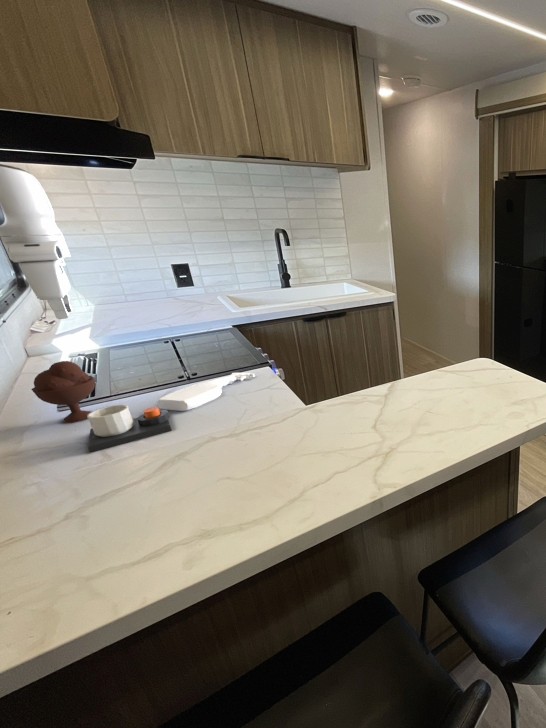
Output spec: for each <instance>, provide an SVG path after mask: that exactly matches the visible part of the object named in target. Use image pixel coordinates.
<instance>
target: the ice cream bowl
mask: <svg viewBox="0 0 546 728" xmlns="http://www.w3.org/2000/svg"><path fill="white" fill-rule="evenodd" d="M33 386H34V387H33V388H31V391H32V392H33V393H34V395H35V396H36V397H37V398H38V399H39V400H41V401H42V402H45V403H48V404H51V405H57V406H67V407H68V408H69V409H70V413H69V414H67V415H66V416H65V417H64V418H63V422H64V423H66V424H67V423H68V424H69V423H71V424H72V423H77V422H81V421H82V422H83V421H84V420H88V417H87V415H88V414H89V413H91V412H92V411H90V410H84V409H83V410H81V409H82V408H80V406H79V404H80V402H81V401H83V400H85V399H86V398H87V397H89V396H90V395H91V394H92V392H93V391H94V390H95V387H96V379H95V377H94V376H92V375H90V374H88V373H86V372H85V371H83V370H82V368H81V367H80V365H78V364H77V363H76V362H73V361H69V360H61V361H58V362H54V363H52V364H51V365H50V367H49V368H48V369H46V370H43V371H42V372H40V373H38V374H37V375H36V376H35V378H34V379H33Z"/></svg>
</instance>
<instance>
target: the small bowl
mask: <svg viewBox="0 0 546 728" xmlns="http://www.w3.org/2000/svg"><path fill="white" fill-rule="evenodd" d="M87 417H88V418H87V420H88V422H89V425H90V426H91V429H93V431H94V433H95V435H97V436H101V437H108V436H114V435H118V434H121V433H124V432H126V431H128V430H130V429H131V428H132V427H133V426H134V425H135V423H134V420H133V418H134V417H133V415H132V413H131V410H130V407H129V405H127V404H113V405H108V406H105V407H104V406H103V407H101V408H98V409H95V410H93V411H91V413H89V414H88V415H87Z"/></svg>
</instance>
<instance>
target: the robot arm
mask: <svg viewBox="0 0 546 728" xmlns="http://www.w3.org/2000/svg"><path fill="white" fill-rule="evenodd" d="M0 240H1V242H2V245H3V247H4V249H5V251H6V253H7V255H8V258H9V260H10V261H12V262H13V263H18V267H19V269H20V270H21V272H22V274H23V276H24V278H25V280H26V282H27V283H28V285H29V287H30V288H31V290H32V292H33V293H34V295H35V297H37V299H38V300H40V301H47V304H48V306H49V307H50V309H51V310H52V311H53V313H54V315H55V318H56V319H58V320H66V319H68V318H69V316H70V315H69V313H71V312H72V311H73V307H72V305H71V302H70V297H69V294H68V292H69V291H70V290H71V283H70V281H69V278H68V276H67V274H66V272H65V269H64V267H65V266H67V264H66V261H65V259H66V258H71V257H72V256H71V253H70V250H69V248H68V245H67V243H66V241H65V237H64V235H63V233H62V231H61V230H60V229H59V227H58V226H57V223H56V222H55V212H54V210H53V207H52V204H51V202H50V200H49V198H48V195H47V194H46V191H45V189H44V188H43V186H42V184H41V183H40V181H39V180H38V178H37V177H35V175H33V174H32V173H31V172H29V171H27V170H24V169H23V168H19V167H16V166H12V165H7V164H3V163H2V164H1V163H0Z"/></svg>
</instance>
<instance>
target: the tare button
mask: <svg viewBox="0 0 546 728" xmlns="http://www.w3.org/2000/svg"><path fill="white" fill-rule="evenodd" d="M159 410H160V408H159V406H151V407H148V408H145V409H144V410H142V411H143V414H144V415H145V418H152V417H156V416H158V415H160V411H159Z"/></svg>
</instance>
